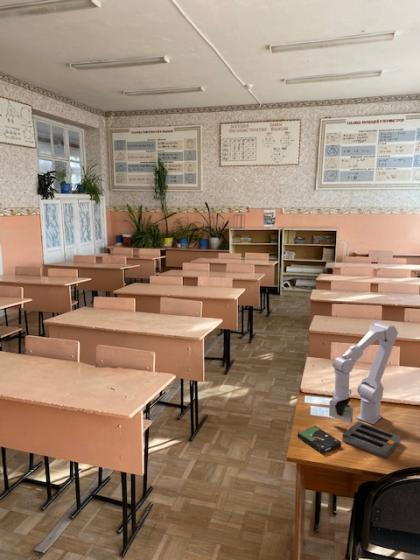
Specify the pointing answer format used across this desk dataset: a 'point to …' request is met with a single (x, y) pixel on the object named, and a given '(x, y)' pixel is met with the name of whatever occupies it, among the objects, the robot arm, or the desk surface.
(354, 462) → the desk surface
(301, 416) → the desk surface
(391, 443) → the rack block
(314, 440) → the disk drive
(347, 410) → the steel panel
